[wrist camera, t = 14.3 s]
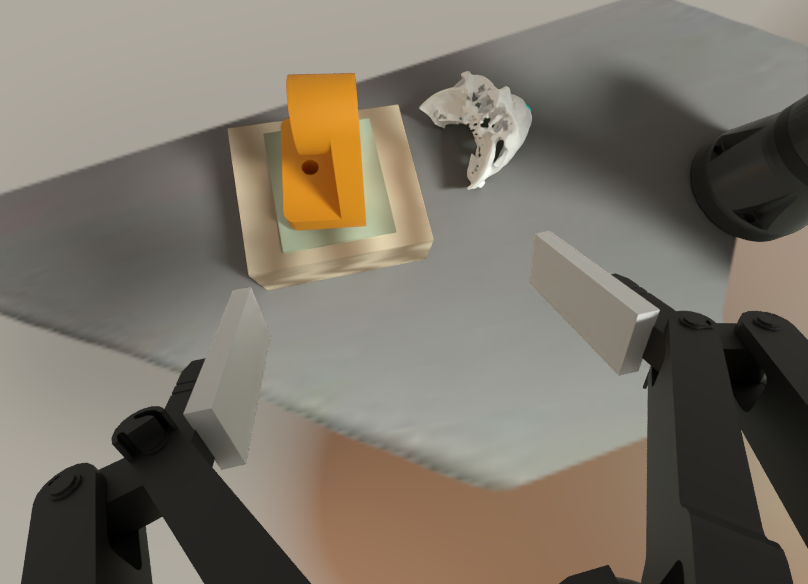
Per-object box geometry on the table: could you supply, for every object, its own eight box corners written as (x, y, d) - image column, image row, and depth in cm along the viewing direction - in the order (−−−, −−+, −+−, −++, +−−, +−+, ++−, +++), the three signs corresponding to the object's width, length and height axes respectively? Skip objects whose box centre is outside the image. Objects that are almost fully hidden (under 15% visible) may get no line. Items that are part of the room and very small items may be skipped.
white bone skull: (561, 149, 43) (537, 133, 35) (500, 195, 48) (468, 190, 40) (509, 73, 45) (476, 42, 37) (457, 125, 50) (418, 107, 42)
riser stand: (395, 139, 45) (398, 101, 39) (425, 259, 41) (434, 238, 35) (247, 162, 42) (225, 125, 36) (267, 290, 39) (247, 274, 33)
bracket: (287, 136, 37) (245, 24, 25) (358, 133, 37) (350, 23, 26) (290, 234, 34) (247, 162, 23) (366, 229, 35) (362, 156, 23)
